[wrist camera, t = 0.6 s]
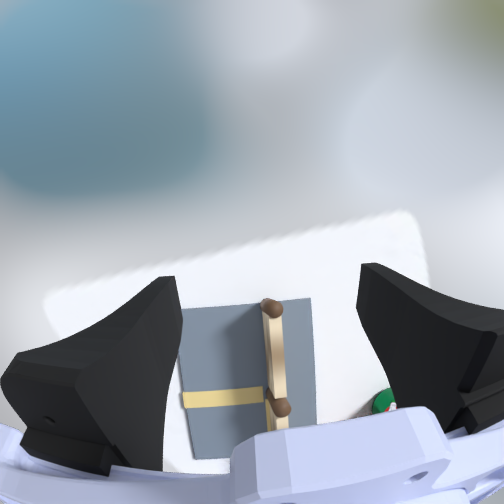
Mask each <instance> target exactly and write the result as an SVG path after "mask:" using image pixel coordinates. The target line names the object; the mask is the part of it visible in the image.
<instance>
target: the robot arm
mask: <svg viewBox="0 0 504 504" xmlns="http://www.w3.org/2000/svg"><path fill="white" fill-rule="evenodd" d="M356 309H357V312H358V315H359V318H360V321H361V324H362V327H363V329H364V331H365V333H366V335H367V337H368V339H369V341H370V343H371V345H372V347H373V349H374V350H375V352H376V354H377V356H378V358H379V360H380V362H381V364H382V366H383V368H384V371H385V373H386V375H387V378H388V381H389V384H390V387H391V390H392V393H393V396H394V399H395V403H396V406H397V409H395V410H391V411H387V412H383V413H378V414H374V415H369V416H364V417H359V418H354V419H349V420H343V421H337V422H331V423H324V424H317V425H310V426H302V427H293V428H283V429H279V430H274V431H270V432H265V433H260V434H256V435H255V436H253V437H251V438H249V439H248V440H246V441H244V442H242V443H240V444H239V445H237V446H236V447H234V450H233V453H232V455H231V458H230V473H228V474H189V473H173V472H163V436H164V423H165V412H166V403H167V395H168V390H169V385H170V381H171V377H172V373H173V369H174V365H175V362H176V358H177V354H178V350H179V346H180V342H181V336H182V327H183V316H182V311H181V306H180V301H179V296H178V291H177V286H176V280H175V276H163V277H158V278H157V279H155V280H154V281H153V282H151V283H150V284H149V285H148V286H146V287H145V288H144V289H143V290H141V291H140V292H139V293H138V294H137V295H135V296H134V297H133V298H132V299H130V300H129V301H128V302H126V303H125V304H124V305H122V306H121V307H120V308H118V309H117V310H116V311H114V312H113V313H111V314H110V315H108V316H107V317H105V318H104V319H102V320H100V321H99V322H97V323H95V324H94V325H92V326H90V327H88V328H86V329H84V330H82V331H80V332H78V333H76V334H74V335H72V336H70V337H67V338H65V339H62V340H60V341H58V342H54V343H52V344H49V345H46V346H43V347H39V348H35V349H32V350H28V351H24V352H19V353H17V354H16V356H15V357H14V359H13V360H12V362H11V363H10V365H9V366H8V368H7V369H6V371H5V372H4V374H3V375H2V377H1V379H0V385H1V388H2V391H3V394H4V396H5V397H6V399H7V401H8V402H9V404H10V405H11V406H12V407H13V409H14V410H15V412H16V413H17V414H18V415H19V417H20V418H21V419H22V421H23V422H24V423H25V424H26V426H27V429H26V431H25V433H24V434H23V433H22V432H21V431H19V430H18V429H15V428H13V427H10V426H8V425H5V424H2V423H0V501H1V502H2V503H3V504H478V503H479V502H481V501H482V500H484V499H486V498H487V497H489V496H490V495H492V494H493V493H495V492H497V491H498V490H500V489H501V488H503V487H504V310H501V309H496V308H489V307H484V306H480V305H475V304H472V303H468V302H465V301H461V300H458V299H455V298H452V297H449V296H446V295H444V294H441V293H439V292H437V291H434V290H432V289H430V288H428V287H425V286H423V285H421V284H419V283H417V282H415V281H413V280H411V279H409V278H407V277H405V276H403V275H401V274H399V273H397V272H395V271H394V270H392V269H390V268H387V267H385V266H383V265H381V264H378V263H365V264H361V273H360V281H359V289H358V296H357V303H356Z"/></svg>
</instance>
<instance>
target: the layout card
mask: <svg viewBox="0 0 504 504" xmlns="http://www.w3.org/2000/svg"><path fill="white" fill-rule="evenodd" d="M278 302H280V303H281V304H282V306H283V313H282V315H281V317H282V331H283V344H284V359H285V374H286V390H287V397H286V399H287V401H288V402H289V404H290V406H291V412H290V414H289V415H288V424H289V428H293V427H302V426H310V425H317V418H316V384H315V360H314V341H313V325H312V310H311V298H304V299H295V300H285V301H278ZM181 311H182V316H183V327H182V336H181V342H180V346H179V358H180V366H181V374H182V381H183V388H184V392H182V394H183V400H184V407H185V408H187V414H188V420H189V426H190V431H191V437H192V443H193V448H194V453H195V458H196V460H197V459H218V458H231V455H232V453H233V450H234V447H236V446H237V445H239V444H240V443H242V442H244V441H246V440H248V439H249V438H251V437H253V436H255V435H256V434H260V433H265V432H270V431H271V422H270V409H269V401H268V399H267V397H266V390H267V388H268V387H269V386H268V378H267V366H266V353H265V340H264V328H263V316H262V310H261V309H260V303H255V304H243V305H231V306H219V307H205V308H191V309H181Z"/></svg>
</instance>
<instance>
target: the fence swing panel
mask: <svg viewBox="0 0 504 504" xmlns="http://www.w3.org/2000/svg"><path fill="white" fill-rule="evenodd" d="M260 309H261V310H262V316H263V328H264V340H265V353H266V366H267V378H268V386H269V388H270V390H271V392H272V394H273V396H274V398H275V399H277V398H284V397H287V390H286V374H285V359H284V344H283V331H282V317H281V315H282V313H283V306H282V304H281V303H280V302H278V301H275V300H272V299H269V298H266V299H263V300H262V301H261V303H260Z"/></svg>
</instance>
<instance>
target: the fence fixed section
mask: <svg viewBox="0 0 504 504" xmlns="http://www.w3.org/2000/svg"><path fill="white" fill-rule="evenodd" d="M266 397H267V399H268V401H269V409H270V422H271V431H274V430H279V429H283V428H289V424H288V415H289V414H290V412H291V406H290V404H289V402H288V401H287V399H286V397H284V398H277V399H275V398H274V396H273V394H272V392H271V390H270V388H269V387H268V388H267V390H266Z"/></svg>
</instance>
